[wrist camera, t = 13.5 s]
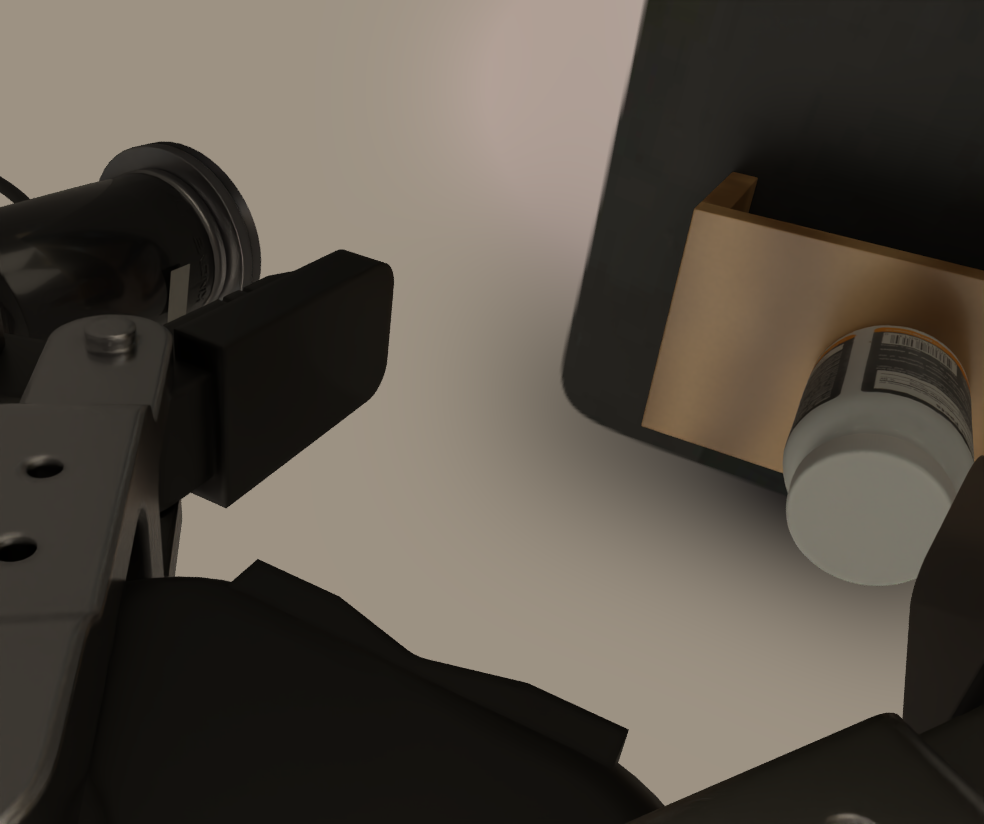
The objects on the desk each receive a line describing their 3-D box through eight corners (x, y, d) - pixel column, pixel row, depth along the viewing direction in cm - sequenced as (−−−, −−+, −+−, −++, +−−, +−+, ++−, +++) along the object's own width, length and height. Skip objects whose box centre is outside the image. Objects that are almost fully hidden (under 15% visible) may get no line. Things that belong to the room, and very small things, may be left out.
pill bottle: (846, 472, 36) (816, 620, 28) (784, 352, 35) (733, 470, 27) (997, 428, 33) (1010, 580, 25) (932, 294, 32) (924, 408, 24)
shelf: (681, 365, 45) (640, 426, 39) (732, 171, 40) (693, 207, 34) (1069, 484, 39) (1089, 575, 34) (1185, 276, 34) (1231, 341, 29)
